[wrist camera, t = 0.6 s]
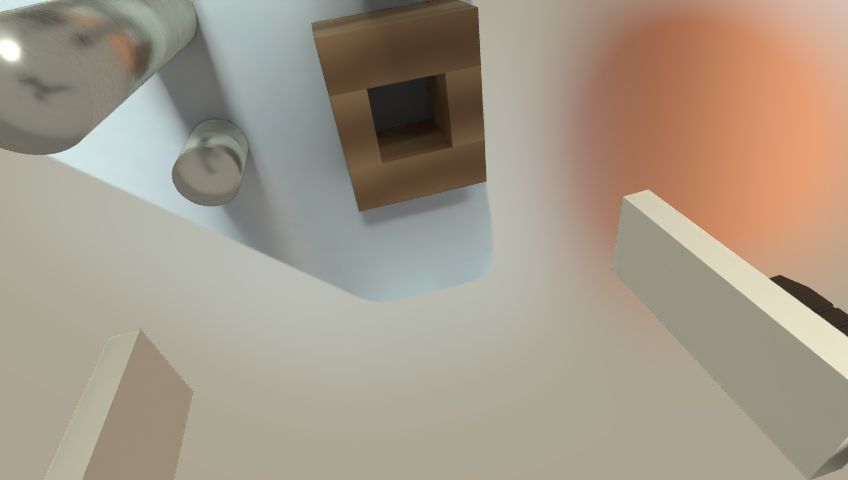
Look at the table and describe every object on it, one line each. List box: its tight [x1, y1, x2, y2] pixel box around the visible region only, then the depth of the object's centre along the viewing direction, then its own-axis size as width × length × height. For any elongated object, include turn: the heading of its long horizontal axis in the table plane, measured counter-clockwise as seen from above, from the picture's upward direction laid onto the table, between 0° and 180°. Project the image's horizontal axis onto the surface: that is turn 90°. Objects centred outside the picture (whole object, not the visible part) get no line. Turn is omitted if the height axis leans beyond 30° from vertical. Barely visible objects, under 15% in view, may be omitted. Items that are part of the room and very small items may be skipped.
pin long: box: [0, 0, 197, 155], centre depth 20 cm, size 4×4×18 cm
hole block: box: [311, 0, 486, 212], centre depth 31 cm, size 12×10×6 cm
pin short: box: [172, 119, 248, 206], centre depth 30 cm, size 4×4×6 cm
